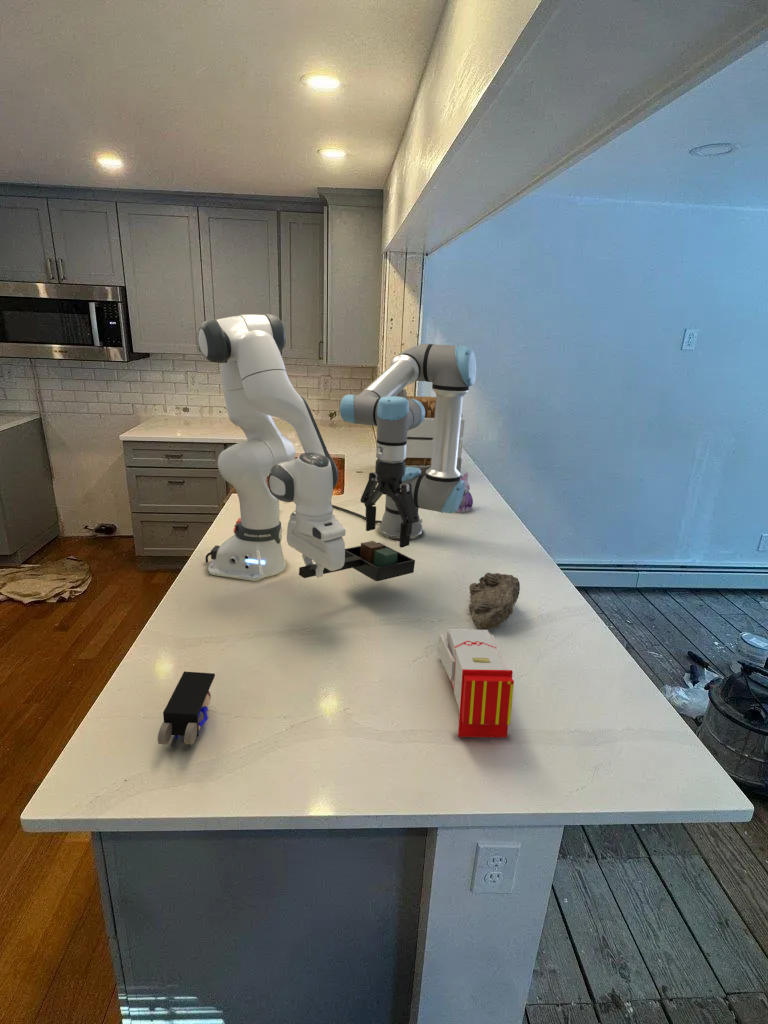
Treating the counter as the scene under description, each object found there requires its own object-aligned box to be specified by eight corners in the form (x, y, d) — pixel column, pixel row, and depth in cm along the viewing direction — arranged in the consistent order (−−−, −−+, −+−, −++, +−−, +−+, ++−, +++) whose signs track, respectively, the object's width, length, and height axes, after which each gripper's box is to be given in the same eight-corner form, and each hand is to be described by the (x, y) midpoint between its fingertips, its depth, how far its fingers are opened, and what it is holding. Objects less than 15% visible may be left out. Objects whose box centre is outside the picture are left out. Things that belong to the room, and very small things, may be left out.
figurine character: (198, 762, 99) (219, 698, 112) (193, 731, 96) (215, 669, 109) (159, 761, 99) (184, 698, 112) (153, 730, 95) (180, 668, 109)
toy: (488, 613, 130) (523, 677, 101) (484, 667, 133) (517, 744, 104) (435, 612, 130) (455, 676, 101) (432, 666, 133) (451, 743, 103)
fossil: (461, 576, 160) (507, 550, 155) (480, 600, 163) (525, 575, 158) (463, 624, 140) (516, 596, 135) (485, 650, 143) (537, 624, 138)
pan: (284, 573, 144) (285, 558, 143) (377, 554, 165) (379, 541, 163) (318, 596, 133) (319, 580, 132) (413, 572, 154) (415, 558, 153)
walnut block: (359, 559, 157) (360, 543, 155) (371, 557, 160) (373, 540, 158) (369, 565, 154) (371, 548, 152) (381, 562, 157) (383, 545, 155)
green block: (372, 567, 152) (374, 550, 151) (384, 564, 155) (386, 547, 154) (383, 573, 149) (385, 555, 148) (395, 570, 152) (398, 553, 151)
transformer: (382, 463, 289) (386, 382, 275) (445, 464, 293) (451, 384, 279) (390, 482, 257) (394, 392, 243) (460, 483, 261) (468, 394, 247)
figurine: (459, 514, 221) (463, 477, 216) (445, 506, 229) (448, 470, 224) (479, 511, 225) (483, 475, 220) (464, 503, 234) (467, 468, 228)
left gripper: (280, 511, 141) (281, 562, 146) (327, 537, 127) (327, 592, 132) (301, 506, 145) (301, 556, 150) (350, 531, 131) (348, 585, 136)
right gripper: (348, 451, 149) (347, 526, 156) (414, 473, 131) (408, 557, 139) (370, 447, 154) (368, 520, 161) (436, 468, 136) (430, 550, 143)
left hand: (314, 573), depth 141 cm, fingers closed on pan, 2 cm apart
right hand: (386, 537), depth 150 cm, fingers open, 13 cm apart
